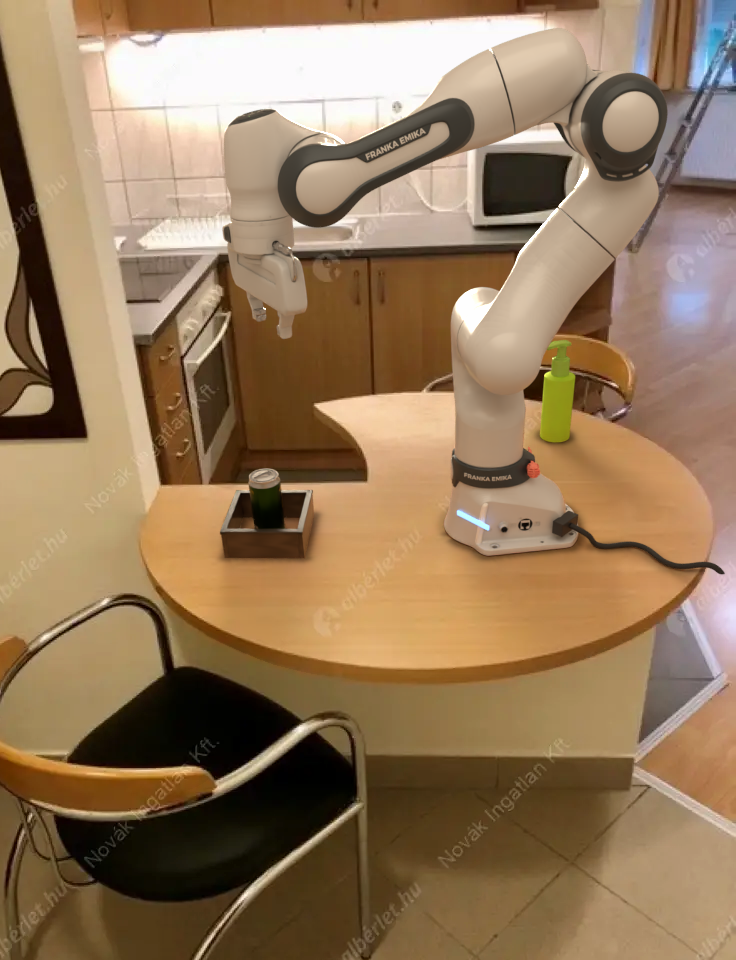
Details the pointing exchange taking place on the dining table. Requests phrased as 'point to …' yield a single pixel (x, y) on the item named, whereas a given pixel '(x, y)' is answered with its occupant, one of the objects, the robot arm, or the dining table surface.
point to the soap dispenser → (557, 396)
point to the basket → (268, 540)
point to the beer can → (266, 499)
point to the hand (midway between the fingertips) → (272, 328)
